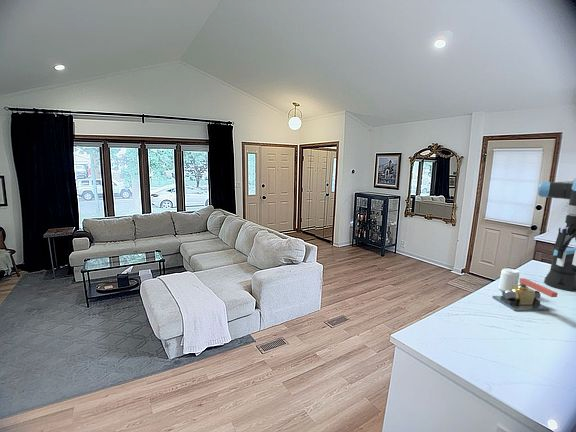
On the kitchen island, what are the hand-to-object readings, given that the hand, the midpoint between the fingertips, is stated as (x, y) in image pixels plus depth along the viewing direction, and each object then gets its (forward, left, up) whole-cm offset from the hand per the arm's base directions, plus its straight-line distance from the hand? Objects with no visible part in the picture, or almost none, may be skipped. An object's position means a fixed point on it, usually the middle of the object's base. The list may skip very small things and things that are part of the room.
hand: (567, 265), depth 134 cm
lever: (+7, -6, -15) cm, 18 cm away
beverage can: (0, -29, -25) cm, 38 cm away
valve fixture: (+7, -13, -25) cm, 29 cm away
